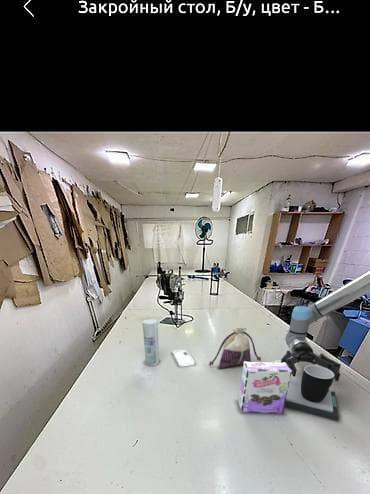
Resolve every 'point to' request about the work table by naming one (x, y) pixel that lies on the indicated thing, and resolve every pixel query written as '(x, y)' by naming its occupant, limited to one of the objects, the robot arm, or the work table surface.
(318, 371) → the mug
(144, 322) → the spray can
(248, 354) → the pouch
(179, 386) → the work table surface
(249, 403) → the candy box
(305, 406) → the scale
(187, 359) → the phone case
